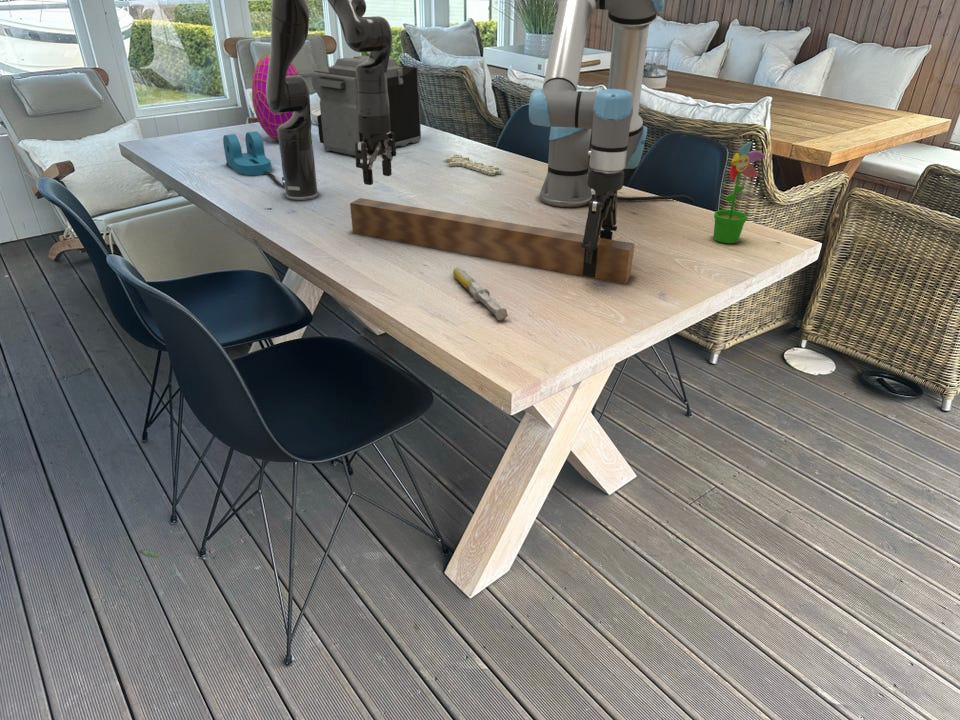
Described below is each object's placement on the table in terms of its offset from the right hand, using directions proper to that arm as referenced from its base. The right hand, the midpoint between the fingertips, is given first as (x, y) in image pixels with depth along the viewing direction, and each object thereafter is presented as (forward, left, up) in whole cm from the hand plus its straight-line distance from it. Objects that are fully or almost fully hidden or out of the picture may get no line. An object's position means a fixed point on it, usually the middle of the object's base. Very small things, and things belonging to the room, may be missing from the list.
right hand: (596, 266), depth 155 cm
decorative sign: (+65, -70, -2) cm, 95 cm away
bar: (+29, 0, -2) cm, 29 cm away
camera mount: (+129, -34, -2) cm, 134 cm away
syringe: (+19, +23, -2) cm, 30 cm away
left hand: (+57, 0, +12) cm, 58 cm away
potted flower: (-24, -37, -2) cm, 44 cm away
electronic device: (+111, -79, -2) cm, 137 cm away
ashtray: (+147, -110, -2) cm, 184 cm away
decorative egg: (+146, -72, -2) cm, 163 cm away
